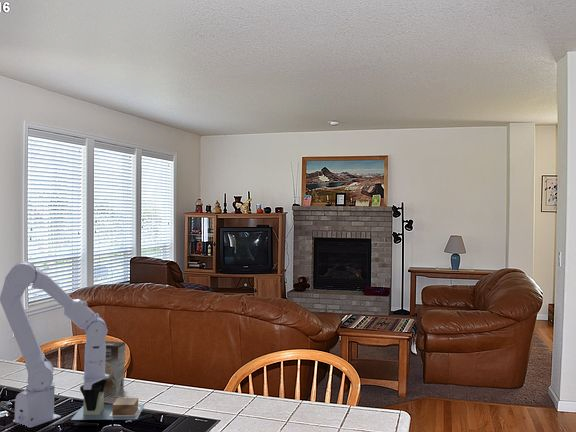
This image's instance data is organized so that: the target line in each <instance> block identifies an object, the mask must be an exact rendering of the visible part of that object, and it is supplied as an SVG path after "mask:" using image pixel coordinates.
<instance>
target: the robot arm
mask: <svg viewBox="0 0 576 432" xmlns="http://www.w3.org/2000/svg"><path fill="white" fill-rule="evenodd" d="M31 284H32V285H31ZM30 285H31V288H32V289H36V290H41V291H44V292H45V293H46V294H47V295H48V296H50V297H51V298H52V299H54V300H55V301H56V302H57V303H58V304H60V306H61V307H63V309H64V310H63V311H64V313H63V315H65V317H67V318H68V319H69V320H70V321H71V322H72V323H73V324H75V325H76V326H77V327H78V328H79V329H80V330H84V333H85V344H84V366H83V367H84V370H83V371H84V372H83V376H82V379H83V384H82V385H80V386H79V390H80V392H81V394H82V395H83V400H84V399H85V403H86V408H87V411H95V409H96V405H97V399H98V395H99V392H103V390H104V387H105V385H106V383H107V381H108V378H109V374H105V360H106V343H105V341H107V338H106V336H107V334H108V332H109V330H108V327H107V324H106V322H105V320H104V319H103V317H101V316H100V314H99V313H98V312H96V313H95V312H94V311H93V310H92V309H91V308H90V307H89V306H88V302H87V301H85V300H82V299H79V298H77V299H74V298H72V297H71V296H70V295H69V294H68V293H66V291H65V290H64V289H63V288H62V287H60V286H59V284H58V283H56V282H55V281H54V280H53V279H52V278H51V276H49V275H48V274H47V273H45V272H44V271H43V270H42V269H40V268H36V266H35V265H34V264H33V263H32V262H29V261H26V260H24V261H23V260H22V261H20V262H18V263H16V264H15V265H14V266H12V268H11V269H10V270H9V271H8V273H7V275H5V279H4V282H3V287H2V290H1V293H0V304H1V307H2V310H3V312H4V314H5V316H6V319H7V322H8V324H9V326H10V328H11V331H12V334H13V336H14V338H15V340H16V343H17V345H18V347H19V351H20V352H21V355H22V358H23V359H24V364H25V369H26V371H27V384H26V387H25V389H24V390H23V391H21V392H19V393H17V395H16V397H15V398H14V399H15V400H14V419H13V420H12V422H13V423H15V424H18V423H19V424H18V425H21V424H22V426H23V425H25V426H24V427H26V426H27V428H33V427H36V426H39V425H42V424H45V423H48V422H50V421H51V422H52V421H53V420H56V419H60V418H61V415H59V414H56V413H55V387H56V386H55V383H54V381H53V380H54V366H53V364H52V362H51V361H50V360H48V359H47V358H46V356H45V354H44V352H43V350H42V349H41V346H40V343H39V341H38V339H37V336H36V333H35V332H34V329H33V326H32V325H31V322H30V319H29V316H28V314H27V312H26V309H25V307H24V304H23V302H22V300H21V299H22V296H23V294H24V293H25V290H26V289H27V288H29V286H30Z"/></svg>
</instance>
